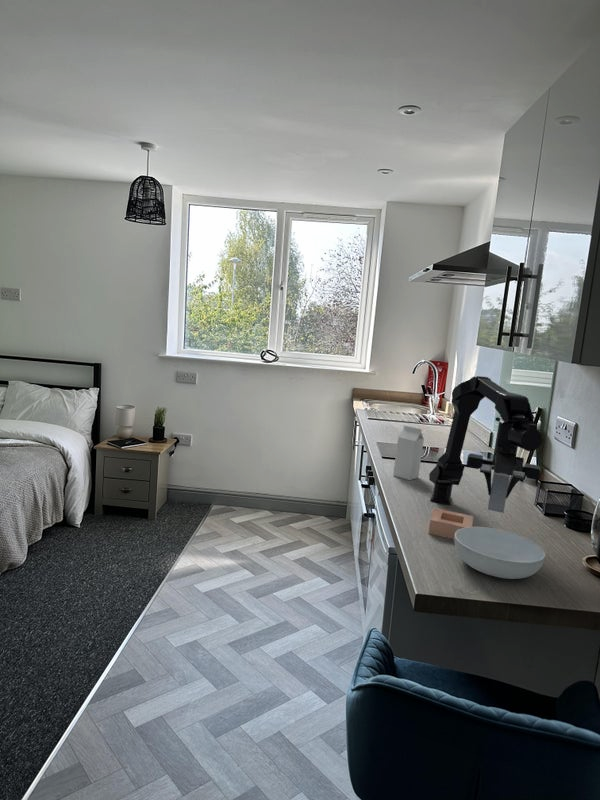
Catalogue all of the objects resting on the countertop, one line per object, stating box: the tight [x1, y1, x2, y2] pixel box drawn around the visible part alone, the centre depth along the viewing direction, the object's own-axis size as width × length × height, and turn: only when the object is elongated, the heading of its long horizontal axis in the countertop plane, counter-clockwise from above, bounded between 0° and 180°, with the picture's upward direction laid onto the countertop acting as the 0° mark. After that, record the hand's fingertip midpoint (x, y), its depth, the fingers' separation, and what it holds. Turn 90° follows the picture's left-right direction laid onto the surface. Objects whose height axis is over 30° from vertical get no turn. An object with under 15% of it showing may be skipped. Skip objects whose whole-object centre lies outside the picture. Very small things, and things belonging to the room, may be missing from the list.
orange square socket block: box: [428, 507, 474, 540], centre depth 155 cm, size 11×11×4 cm
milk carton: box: [392, 425, 425, 481], centre depth 205 cm, size 7×7×19 cm
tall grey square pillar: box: [487, 471, 511, 514], centre depth 149 cm, size 4×4×10 cm
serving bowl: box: [453, 526, 547, 580], centre depth 133 cm, size 21×21×7 cm
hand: (497, 496), depth 150 cm, fingers closed on tall grey square pillar, 4 cm apart
